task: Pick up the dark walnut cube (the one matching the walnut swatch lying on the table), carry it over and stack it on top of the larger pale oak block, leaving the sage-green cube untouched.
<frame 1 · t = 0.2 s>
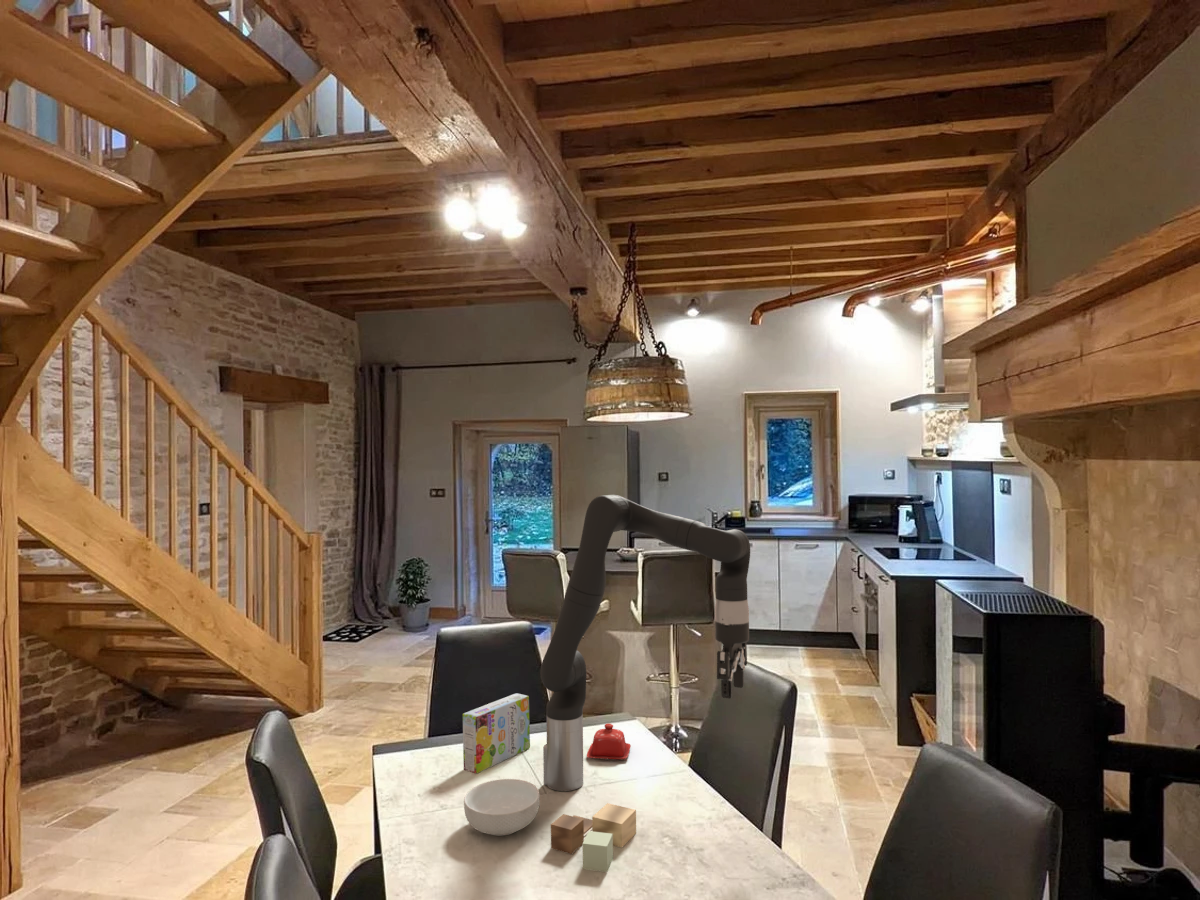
hand: (732, 692, 155), 29 cm above the table, fingers open, 8 cm apart
walnut cube: (567, 846, 146), on the table
oak base block: (614, 836, 149), on the table
sage cube: (598, 864, 139), on the table
walnut swatch: (578, 826, 154), on the table
cereal bowl: (502, 828, 154), on the table
butter dish: (609, 755, 194), on the table
snack box: (497, 759, 192), on the table
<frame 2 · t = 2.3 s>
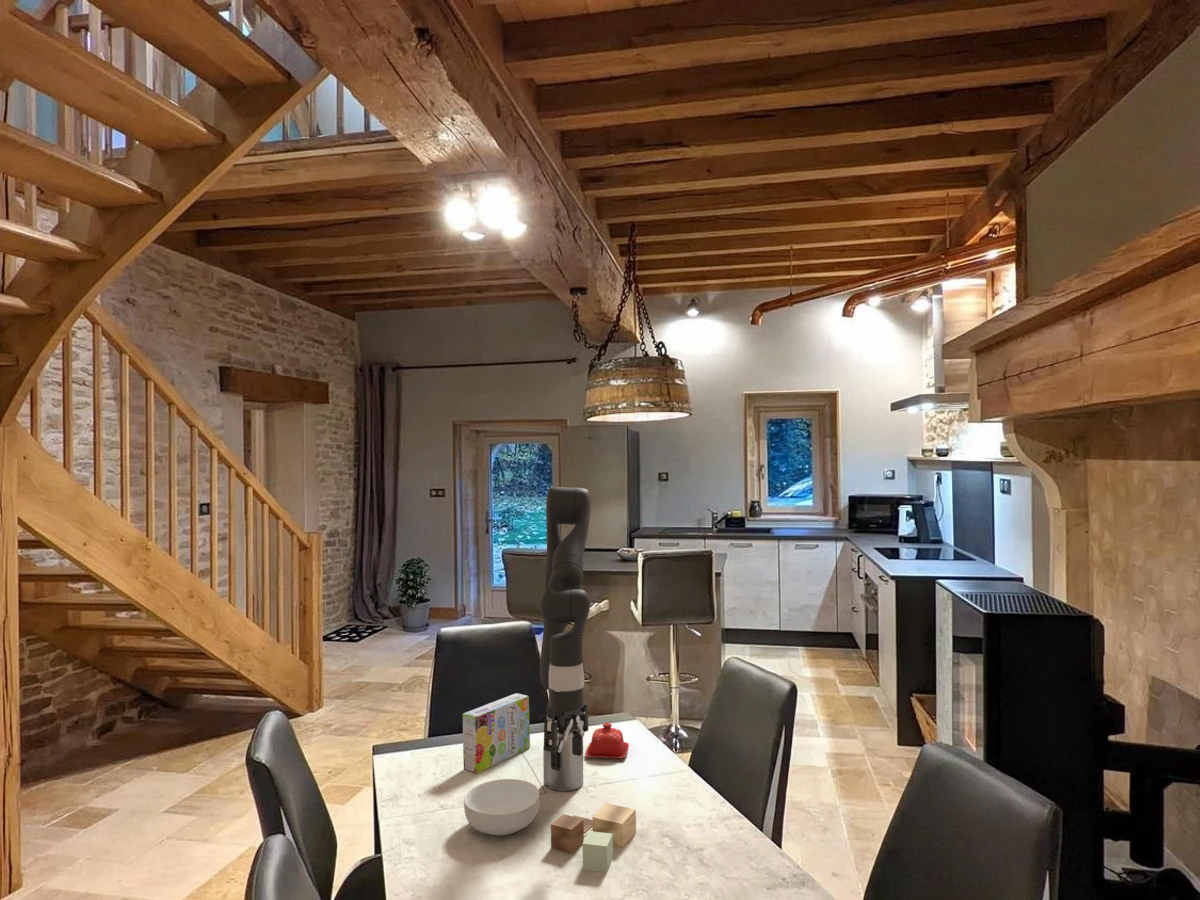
hand: (567, 762, 146), 17 cm above the table, fingers open, 8 cm apart
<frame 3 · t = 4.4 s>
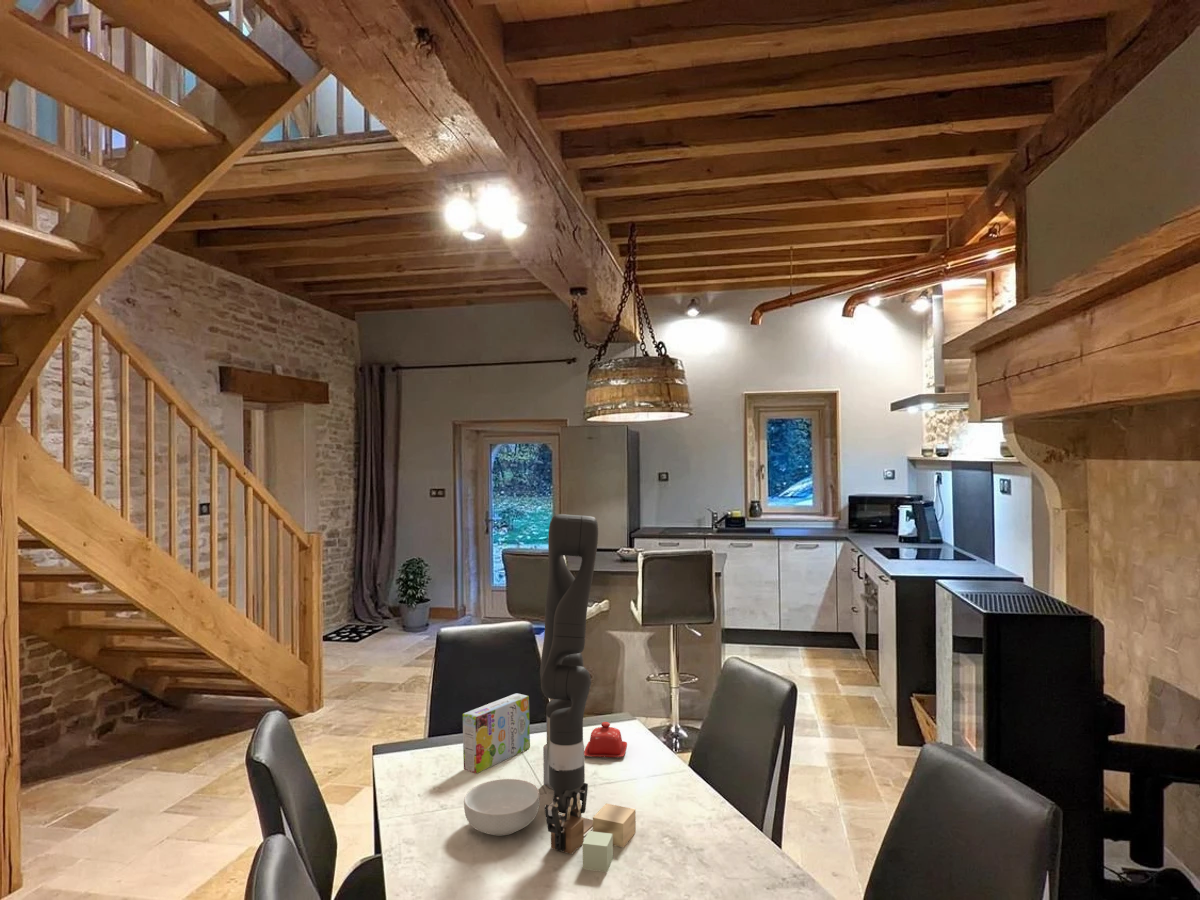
hand: (567, 843, 146), 0 cm above the table, fingers closed on walnut cube, 5 cm apart
walnut cube: (567, 845, 146), on the table, touching gripper
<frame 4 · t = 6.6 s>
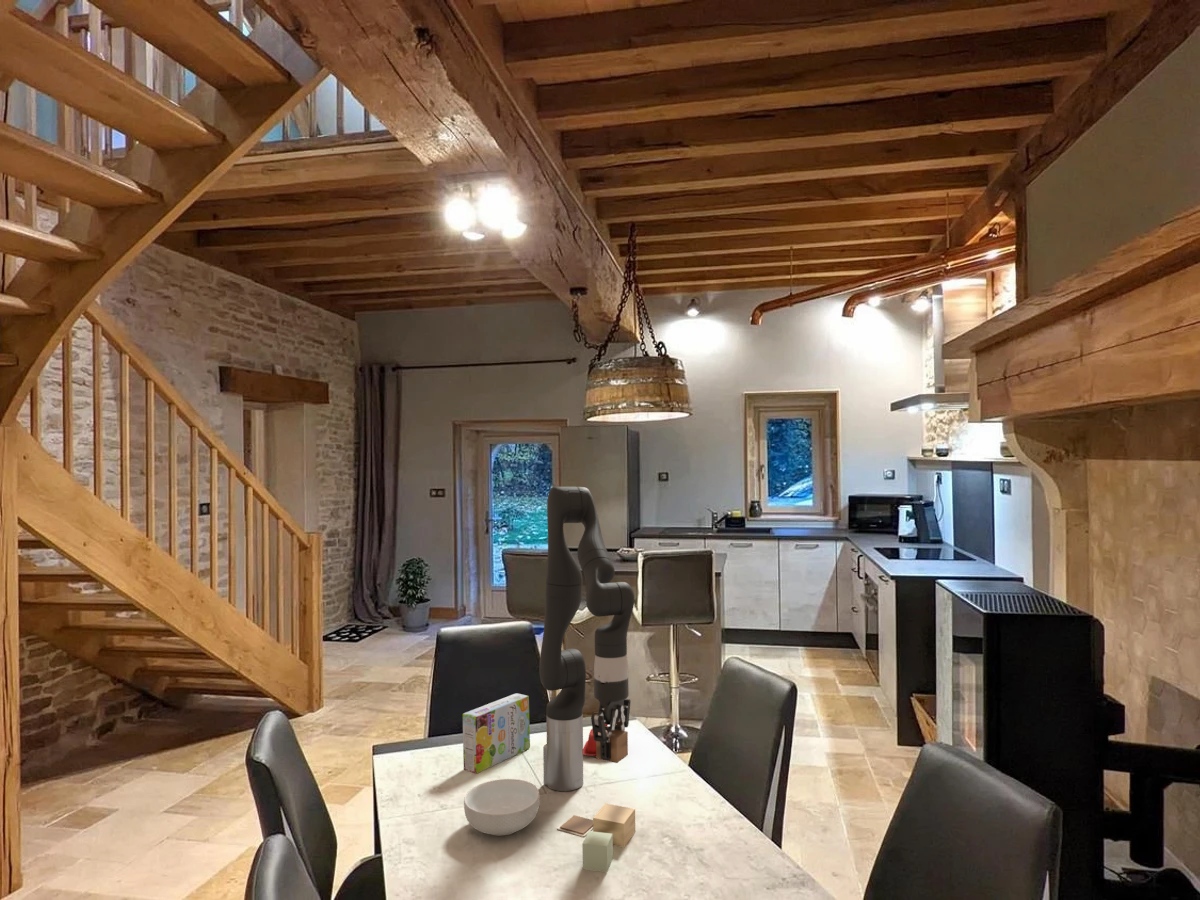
hand: (611, 754, 150), 17 cm above the table, fingers closed on walnut cube, 5 cm apart
walnut cube: (612, 756, 150), point 17 cm above the table, touching gripper
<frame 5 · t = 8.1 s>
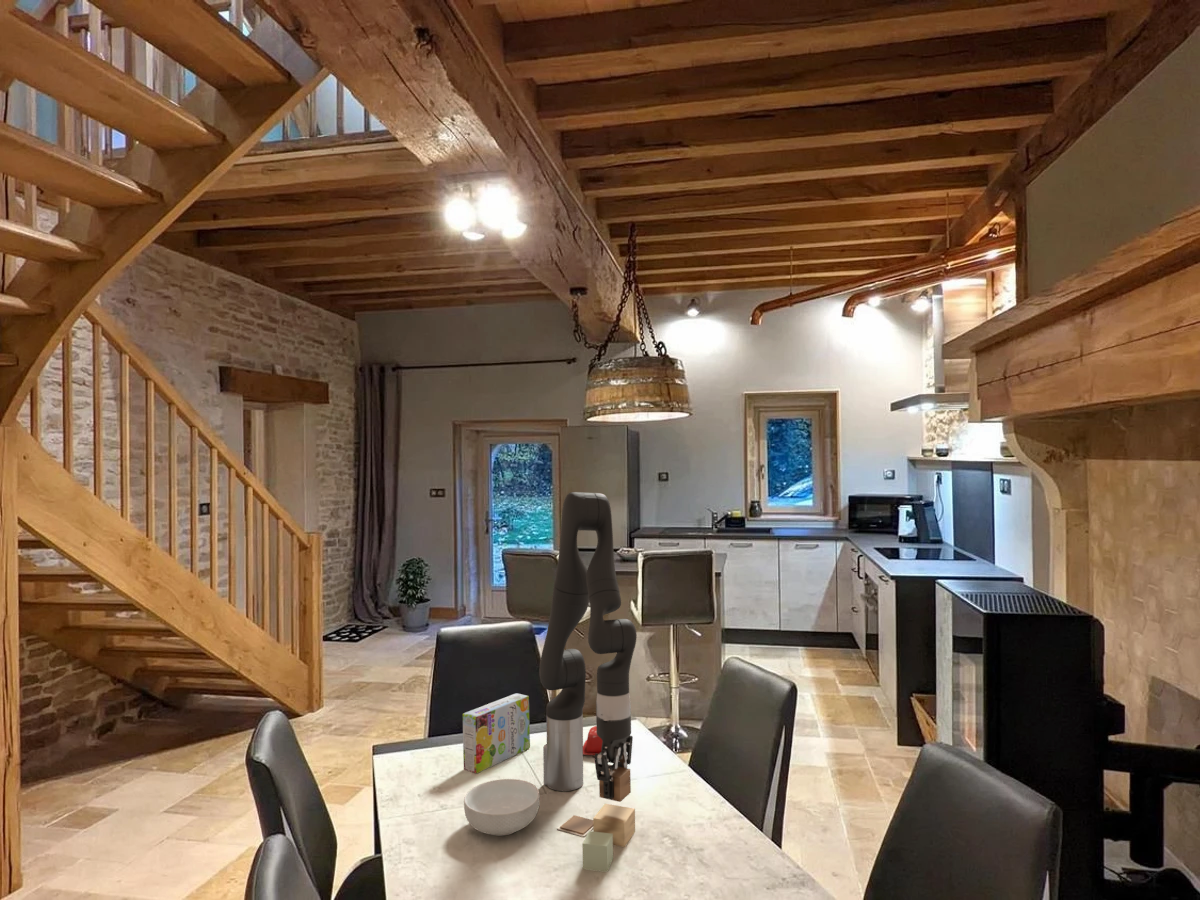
hand: (614, 792, 150), 9 cm above the table, fingers closed on walnut cube, 5 cm apart
walnut cube: (615, 794, 150), point 9 cm above the table, touching gripper
when the fingers open (6 cm above the table, at t = 9.1 s): walnut cube drops 1 cm, resting on oak base block.
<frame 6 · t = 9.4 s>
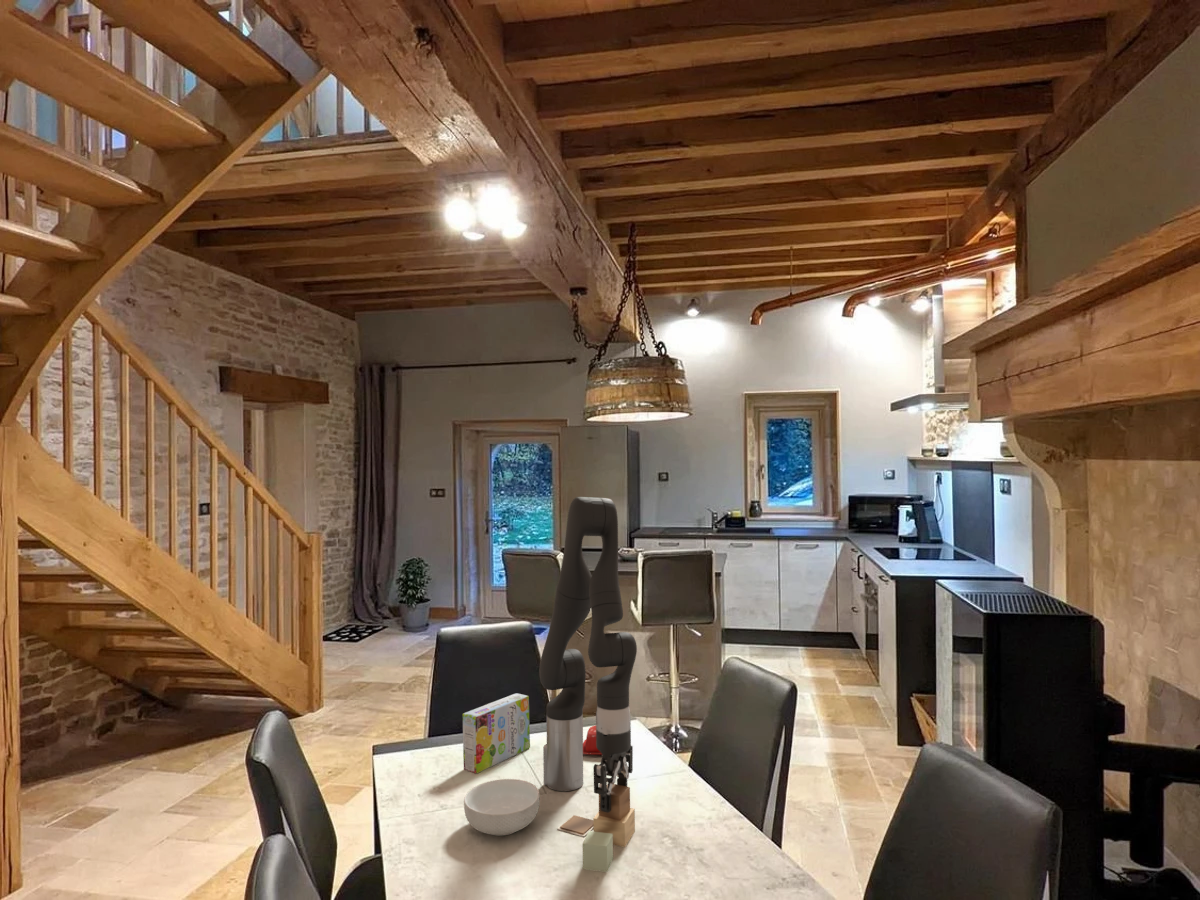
hand: (614, 803, 150), 7 cm above the table, fingers open, 7 cm apart
walnut cube: (614, 813, 150), point 5 cm above the table, touching oak base block
oak base block: (614, 837, 149), on the table, touching walnut cube
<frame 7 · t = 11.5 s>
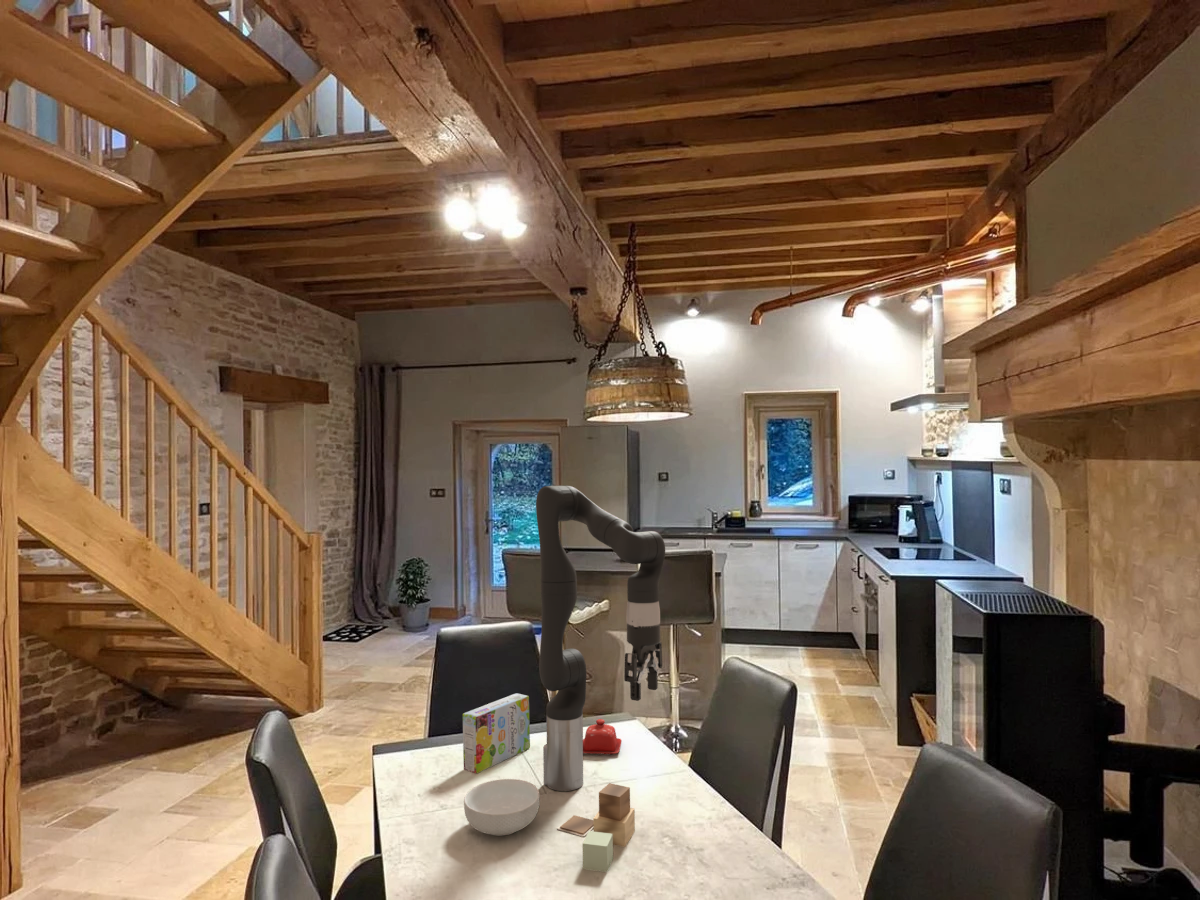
hand: (644, 694, 154), 29 cm above the table, fingers open, 8 cm apart
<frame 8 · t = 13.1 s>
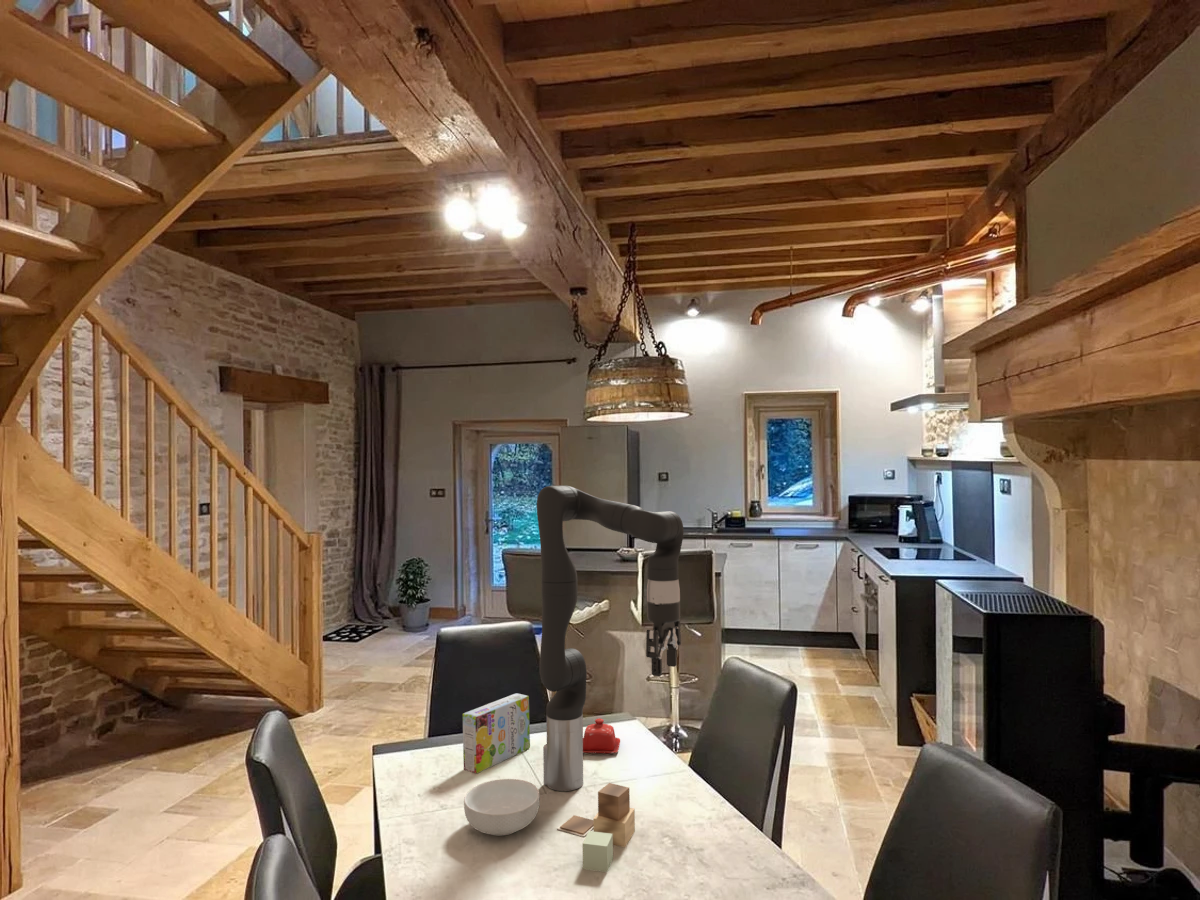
hand: (664, 670, 158), 33 cm above the table, fingers open, 8 cm apart
at the end: walnut cube 0.0 cm off-centre on the oak base block, point 5.0 cm above the oak base block's base; walnut cube tilted 0°; the gripper is holding nothing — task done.
